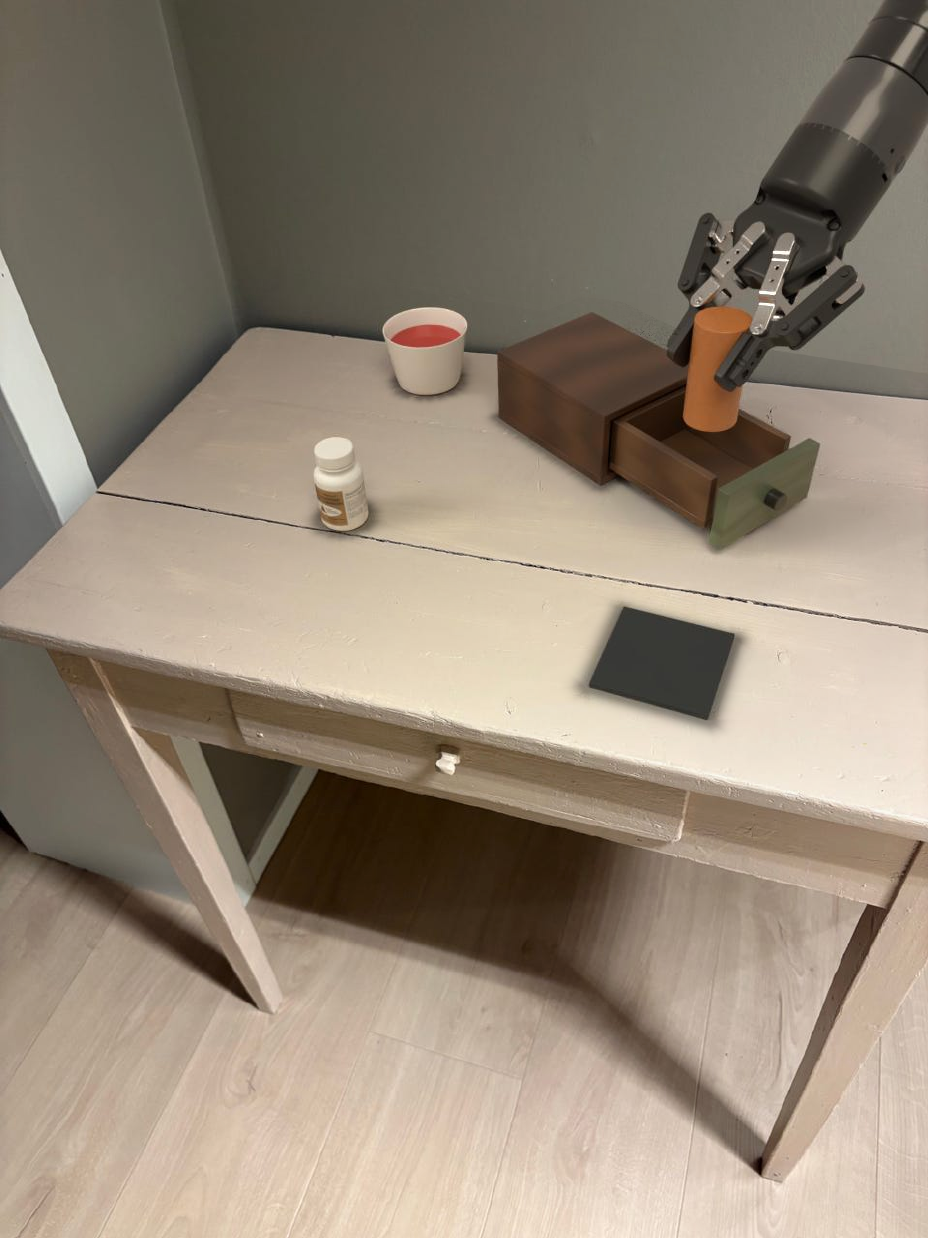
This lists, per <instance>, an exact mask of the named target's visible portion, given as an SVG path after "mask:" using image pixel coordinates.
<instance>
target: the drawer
mask: <svg viewBox="0 0 928 1238" xmlns="http://www.w3.org/2000/svg"><path fill="white" fill-rule="evenodd" d="M686 386H687V385H685V386H683V387H681V388H679V389H677V390H675V391H673V392H671V393H669V394H666V395H664V396H662V397H660V398H658V399H656V400H654V401H652V402H650V403H648V404H646V405H644V406H642V407H640V408H638V409H636V410H634V411H632V412H629V413H627V414H625V415H623V416H621V417H619V418H617V419H615V420H613V424H612V438H611V452H610V469H611V470H613V471H614V472H616V473H617V474H619V477H622V478H624V479H625V480H626V481H628V482H630V483H631V484H633V485H634V486H636V487H637V488H638V489H641V490H642V491H644V492H645V493H646V494H648V495H649V496H651V497H653V498H654V499H656V500H657V501H659V502H660V503H662V504H664V505H665V506H667V507H669V508H670V509H671V510H672V511H675V512H676V513H678V514H679V515H681V516H682V517H684V518H685V519H687V520H689V521H690V522H691V523H693V524H695V525H696V526H698V527H699V528H700V529H703V530H706V529H707V528H708V527H710V526H711V530H710V535H709V541H708V543H709V545H711V546H713V547H714V548H716V549H717V550H719V551H720V550H721V549H723V548H725V547H727V546H728V545H730V544H731V543H733V542H735V541H737V540H739V539H740V538H742V537H744V536H745V535H746V534H749V533H750V532H752V531H753V530H755V529H757V528H758V527H760V526H762V525H764V524H765V523H767V522H769V521H770V520H772V519H774V518H775V517H777V516H779V515H781V514H782V513H784V512H786V511H787V510H788V509H790V508H792V507H793V506H796V505H798V503H800V502H802V501H803V500H806V499H807V498H808V494H809V491H810V487H811V483H812V479H813V474H814V471H815V466H816V462H817V458H818V454H819V452H820V451H819V450H820V448H821V447H820V446H821V443H820V442H819V441H816V440H815V439H813V438H811V437H808V438H806V439H805V440H803V441H801V442H799V443H797V444H796V445H794V446H792V447H790V444H791V439H792V435H790V434H788V433H786V432H784V431H782V430H780V429H778V428H777V427H775V426H773V425H771V424H769V423H767V422H766V421H763V420H762V419H760V418H758V417H756V416H754V415H752V414H750V413H748V412H746V411H744V410H743V409H741V408H739V410H738V416H737V421H736V423H735V425H734V426H732V427H731V428H729V429H727V430H724V431H719V432H705V431H700V430H697V429H694V428H692V427H690V426H689V425H688V424H686V422H685V421H684V419H683V411H684V402H685V394H686Z"/></svg>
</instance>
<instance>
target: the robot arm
mask: <svg viewBox="0 0 928 1238" xmlns="http://www.w3.org/2000/svg"><path fill="white" fill-rule="evenodd" d="M927 126H928V0H881V1H880V4H879V5H878V7H877V8H876V10H875V12H874V14H873V15H872V17H871V18H870V20H869V22H868V23H867V25H866V27H864V29H863V31H862V32H861V34H860V35H859V37H858V39H857V40H856V41H855V43H854V45H853V46H852V47H851V49H850V51H849V53H847V56H845V58H844V60H843V62H842V63H841V65H840V66H839V68H838V69H837V70H836V71H835V73H833V75H832V76H831V77H830V78H829V80H827V82H826V83H825V85H824V86H823V87H822V88H821V89H820V90H819V92H818V94H817V95H816V96H815V98H814V100H813V101H811V104H810V106H809V107H808V108H807V110H806V112H805V113H804V115H803V116H802V117H801V119H800V121H799V123H798V124H797V126H796V127H795V128H794V130H793V132H792V133H791V135H790V136H789V137H788V139H787V141H786V142H785V144H784V145H783V147H782V148H781V150H780V152H779V153H778V154H777V156H776V158H775V159H774V161H773V162H772V164H771V165H770V167H769V168H768V170H767V171H766V173H765V175H764V176H763V178H762V179H761V181H760V184H759V187H758V191H757V194H756V196H755V198H754V201H753V202H752V203H751V204H750V205H749V206H748V207H746V208H745V210H743V211H742V212H740V213H739V214H738V216H737V217H736V218H734V219H717V218H716V216H715V215H714V214H713V213H712V212H705V213H703V214H702V215H701V216H700V217H699V219H698V220H697V221H698V222H697V224H696V228H695V231H694V234H693V236H692V239H691V242H690V246H689V248H688V251H687V254H686V257H685V260H684V263H683V266H682V270H681V271H680V275H679V279H678V281H677V289H678V290H679V291H680V292H681V293H682V295H684V297H685V298H686V299H687V301H688V308H687V311H686V312H685V314H684V315H683V317H682V318H681V320H680V322H679V323H678V324H677V326H676V328H675V329H674V330H673V333H672V334H671V335H670V337H669V338H668V341H667V344H666V347H667V349H666V350H667V357H668V358H669V359H670V360H672V361H673V362H674V363H675V364H677V365H679V366H680V367H686V366H687V365H688V363H689V361H690V352H691V344H692V336H693V328H694V319H695V316H696V314H697V313H698V312H700V311H701V310H703V309H706V308H710V307H717V306H726V307H730V306H731V305H732V304H733V303H734V302H739V301H741V300H742V299H744V297H745V296H747V294H748V293H750V291H752V290H757V291H758V290H759V291H758V304H757V308H756V309H755V312H754V315H753V316H752V319H753V320H752V322H751V325H750V332H749V333H746V332H743V333H742V334H741V336H740V337H739V339H738V340H737V342H736V343H735V345H734V346H733V348H732V349H731V351H730V352H729V354H728V355H727V356H726V358H725V359H724V361H723V362H722V364H721V365H720V367H719V368H718V370H717V371H716V373H715V375H714V381H715V382H716V383H717V384H718V385H719V386H720V387H721V388H723V389H725V390H727V391H729V392H732V391H734V390H735V388H736V387H737V386H738V387H741V386H742V385H743V386H744V385H745V384H746V383H747V382H748V381H749V380H750V377H751V376H752V375H753V373H754V372H755V370H756V369H757V367H758V366H759V364H760V363H761V362H762V360H763V359H764V357H765V355H766V354H767V353H768V351H770V350H771V349H774V348H777V347H783V348H786V347H787V348H788V349H790V350H791V351H798V350H800V349H802V348H803V347H804V346H805V345H807V344H808V343H809V342H811V340H813V339H814V338H815V337H816V336H817V335H818V334H820V332H821V331H823V330H825V328H826V327H828V325H830V324H831V323H832V322H833V321H834V320H835V319H837V318H838V317H839V316H840V315H841V314H843V313H844V312H845V311H846V310H847V309H849V308H850V307H851V306H852V305H853V304H854V303H855V302H856V301H858V300H859V299H860V298H861V297H862V296H863V295H864V293H865V290H866V286H865V284H864V282H863V280H862V278H861V277H860V275H859V274H858V272H857V271H856V270H855V268H854V266H852V265H850V264H845V263H844V261H843V258H844V251H845V248H846V246H847V244H848V243H851V242H852V241H853V240H854V239H855V238H856V237H857V235H858V234H859V232H860V231H861V229H862V228H863V227H864V225H865V223H866V222H867V220H868V219H869V218H870V216H871V214H872V213H873V211H874V210H875V209H876V207H877V205H878V204H879V202H880V201H881V200H882V198H883V197H884V196H885V194H886V192H887V191H888V189H889V188H890V186H891V185H892V183H893V182H894V181H895V179H896V178H897V177H898V175H899V174H900V173H901V172H902V171H903V169H904V167H905V165H906V163H907V162H908V160H909V159H910V157H911V156H912V154H913V153H914V151H915V149H916V147H917V146H918V144H919V143H920V141H921V138H922V136H923V134H924V132H925V130H926V129H927ZM731 242H732V248H731V249H730V250H729V251H728V249H729V248H728V246H729V244H730V243H731ZM727 251H728V252H727ZM725 253H726V254H725ZM722 254H725V255H724V256H722V258H721V255H722ZM720 258H721V259H720ZM734 274H735V275H736V277H737V278H736V279H733V275H734ZM819 280H820V281H819ZM817 281H819V285H818V286H817V288H815V289H814V290H813V291H812V292H810V294H809V295H808V296H807V297H805V298H804V299H803V300H802V301H800V299H801V296H802V294H803V291H804V289H805V288H806V287H809V286H810V285H812V284H813V283H815V282H817ZM799 301H800V303H799ZM743 386H742V387H743Z"/></svg>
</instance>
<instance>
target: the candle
mask: <svg viewBox="0 0 928 1238" xmlns="http://www.w3.org/2000/svg"><path fill="white" fill-rule="evenodd" d="M467 333H468V322H467V320H466V318H465V317H464V316H463V315H461V314H460V313H458V312H457V311H454V310H451V309H449V308H448V309H447V308H443V307H431V306H430V307H429V306H428V307H416V308H411V309H408V310H404V311H402V312H399V313H396V314H394V315H393V316H391V317H390V318H388V319H387V320H386V322H385V323H384V324H383V327H382V335H383V339H384V342H385V345H386V348H387V351H388V355H389V359H390V361H391V364H392V368H393V371H394V374H395V378H396V380H397V382H398V385H399V387H400V388H402V389H403V390H404V391H406V392H408V393H410V394H413V395H419V396H433V395H439V394H443V393H446V392H447V391H450V390H451V389H453V388H454V387H456V386H457V384H458V383H459V382H460V379H461V376H462V369H463V368H462V367H463V362H464V355H465V354H464V353H465V348H466V340H467Z"/></svg>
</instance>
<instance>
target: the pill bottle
mask: <svg viewBox="0 0 928 1238" xmlns="http://www.w3.org/2000/svg"><path fill="white" fill-rule="evenodd" d="M313 453H314V460H315V463H316V467H314V470H313V476H312V477H313V482H314V488H315V493H316V497H317V503H318V509H319V512H320V518H321V522H322V524H323V525H324V526H325V527H327V528H329V529H331V530H333V531H336V532H337V531H339V532H347V531H352V530H355V529H357V528H359V527H361V526H362V525H364V523H365V522H367V520H368V518H369V506H368V505H369V504H368V497H367V491H366V485H365V478H364V472H363V468H362V466H361V464H360V462H359V461H357V460H356V453H355V448H354V443H352V441H351V440H350V439H347V438H346V437H339V436H334V437H333V436H332V437H327V438H325V439H322V440H320V441H319V442H318V443H316V445H315V446H314V449H313Z"/></svg>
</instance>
